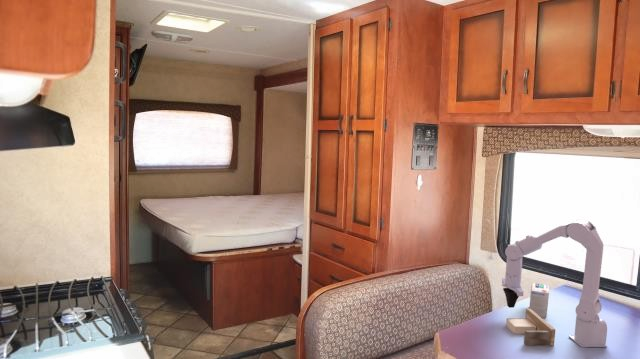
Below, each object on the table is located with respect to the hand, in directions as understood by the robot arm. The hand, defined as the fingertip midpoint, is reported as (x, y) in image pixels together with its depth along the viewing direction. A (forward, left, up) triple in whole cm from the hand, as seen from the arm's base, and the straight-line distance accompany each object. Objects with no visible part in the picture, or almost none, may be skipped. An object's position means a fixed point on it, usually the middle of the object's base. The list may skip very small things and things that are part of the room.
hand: (510, 306), depth 183 cm
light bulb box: (-15, -7, -5) cm, 17 cm away
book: (0, +9, -5) cm, 11 cm away
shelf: (0, +13, -5) cm, 14 cm away
